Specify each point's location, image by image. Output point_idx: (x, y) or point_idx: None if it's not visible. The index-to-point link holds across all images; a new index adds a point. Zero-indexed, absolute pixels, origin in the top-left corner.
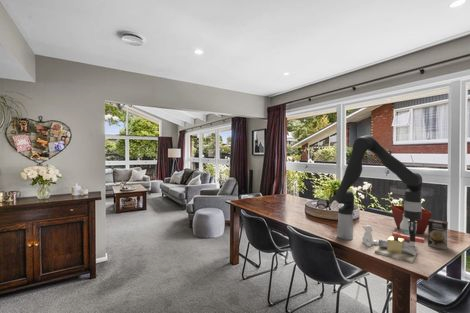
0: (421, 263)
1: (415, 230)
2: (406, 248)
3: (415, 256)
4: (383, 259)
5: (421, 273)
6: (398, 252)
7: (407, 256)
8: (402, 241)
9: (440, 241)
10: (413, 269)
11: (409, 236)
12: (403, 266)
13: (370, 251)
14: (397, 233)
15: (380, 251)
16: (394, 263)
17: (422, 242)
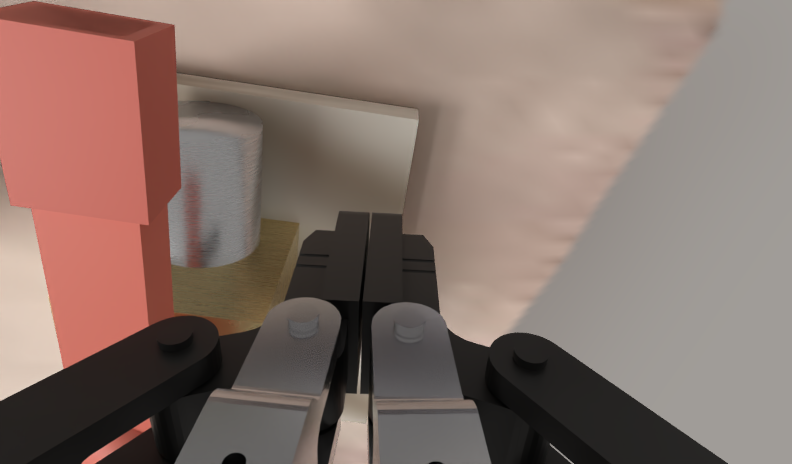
0: (359, 12)
1: (471, 436)
2: (238, 218)
3: (193, 79)
4: (490, 339)
5: (696, 20)
6: (294, 260)
7: (322, 170)
8: (210, 317)
9: None
10: (613, 99)
11: (106, 299)
12: (577, 188)
13: (353, 429)
14: (103, 452)
15: (359, 386)
16: (540, 259)
17: (167, 51)
